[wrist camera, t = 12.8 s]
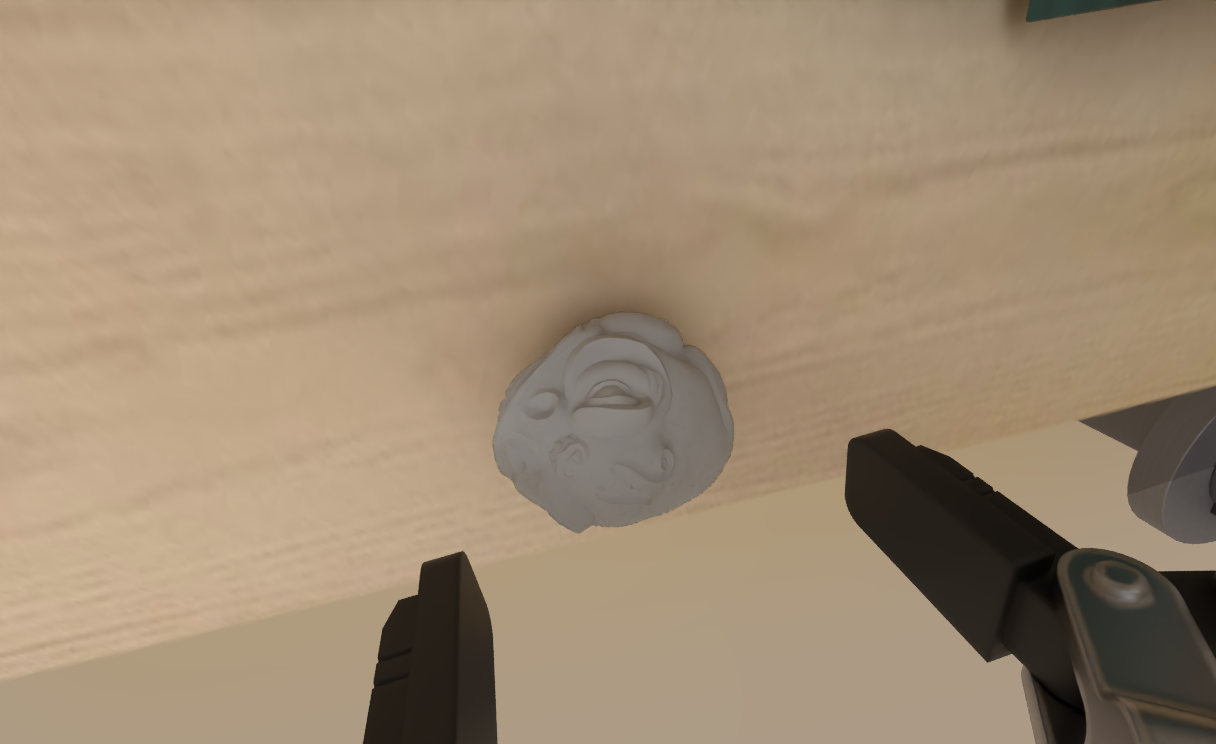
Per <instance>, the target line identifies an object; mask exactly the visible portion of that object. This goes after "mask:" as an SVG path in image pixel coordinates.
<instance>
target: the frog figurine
mask: <svg viewBox="0 0 1216 744" xmlns="http://www.w3.org/2000/svg"><path fill="white" fill-rule="evenodd" d="M733 440H734V423H733V419H732V416H731V413H730V410H729V408H728V406H727V394H726V389H725V386H724V383H723V381H722V378H721V375H720V373H719V372H718V370H717V369H716V367H715V366H714V364H713V363H712V362H711V361H710V360H709V358H708V357H707V356H706V355H705V354H704V353H703V352H702V351H701V350H700V349H699V348H697V347H695V346H691V345H685V346H683V340H682V337H681V335H680V333H679V331H678V330H677V328H675V327H674V326H673V325H672V324H670V323H669V322H668V321H666V320H664V319H661V318H657V317H655V316H652V315H649V314H643V313H635V312H618V313H612V314H608V315H606V316H603V317H602V318H595V319H591V320H589V323H586V324H582V325H581V326H577V327H575V328H574V329H573V331H571V332H570V333H569V334H567V335H566V336H565V337H563V338H562V339H561V340H560V341H559V342H558V343H557V344H556V345H555V346H554V347H553V348H552V349H551V350H549V351H548V352H547V353H546V354H544V355H543V356H542V357H541V358H539V359H538V360H537V361H536V362H534V363H533V364H531V365H530V366H528V367H527V368H525V369H524V370H522V371H521V372H520V373H519V374H518V375H517V376H516V377H515V378H514V379H513V380H512V382H511V383H510V385H509V386H508V388H507V389H506V398H505V399H504V400H502V401H501V402H500V405H499V416H498V424H497V426H496V430H495V434H494V437H493V450H494V455H495V461H496V463H497V466H498V469H499V470H500V472H501V473H502V474H503V475H504V476H506V477H509V478H510V479H511V480H512V481H513V483H514V485H515V488H516V489H517V491H518V492H519V493H520V494H522V495H523V496H524V497H525V498H527V499H529V500H530V501H532V502H533V503H535V504H537V505H538V506H540V507H541V508H543V509H545V510H546V511H547V512H548V514H549V515H550V516H551V517H552V518H553V519H554V520H555V521H556V522H557V523H559V524H560V525H562V526H564V527H566V528H568V529H569V530H571V531H573V532H575V533H578V534H579V533H581V532H582V531H584V530H585V529H587V528H589V527H590V526H592V525H594V526H598V525H599V526H601V527H620V526H627V525H631V524H633V523H638V522H639V521H642V520H644V519H647V518H650V517H654V516H659V515H661V514H663V513H667V512H669V511H670V510H673V509H675V508H677V507H679V506H681V505H683V504H684V503H686V502H687V501H690V500H691V499H692V498H695V497H696V496H698V495H699V494H701V493H703V492H704V491H705V490H706V489H707V488H708V487H710V486H711V484H712V483H714V481H715V480H716V478H717V477H718V476H719V474H720V473H721V472H722V470H723V467H724V466H725V463H726V462H727V461H728V459H729V458H730V455H731V451H732V447H733Z"/></svg>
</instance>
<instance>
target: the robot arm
mask: <svg viewBox="0 0 1216 744" xmlns="http://www.w3.org/2000/svg"><path fill="white" fill-rule="evenodd" d="M1210 496H1211V498H1212V500H1213V501H1214V504H1213V506H1212V509H1211V511H1210V513H1211V514H1213V515H1215V516H1216V468H1215V470H1214V473H1213V475H1212V478H1211V482H1210ZM845 500H846V504H847V507H848V510H849V512H850V514H851V516H852V517H853V519H854V521H855V522H856V523H857V524H858V526H859V527H860V528H861V529H862V530H863V531H864V532H865V533H866V534H867V535H868V536H869V537H870V538H871V539H872V540H873V541H874V543H875V544H876V545H877V546H878V547H879V548H880V549H881V550H882V551H883V552H884V553H885V554H886V555H887V556H888V557H889V558H890V560H891V561H892V562H893V563H894V564H895V565H896V566H897V567H898V568H899V569H900V570H901V571H902V572H903V573H904V574H905V576H906V577H907V578H908V579H909V580H910V581H911V582H912V583H913V584H914V585H915V586H916V587H917V588H918V589H919V590H920V591H921V592H922V593H923V595H924V596H925V597H926V598H927V599H928V600H929V601H930V602H931V603H932V604H933V605H934V606H935V607H936V608H937V610H938V611H939V612H940V613H941V614H942V615H943V616H944V617H945V618H946V619H947V620H948V621H949V622H950V623H951V624H952V625H953V627H955V629H956V630H957V631H958V632H959V633H960V634H961V635H962V636H963V637H964V638H965V639H966V640H967V641H968V642H969V643H970V645H972V647H973V648H974V649H975V650H976V651H977V652H978V653H979V654H980V655H981V656H982V657H983V658H984V659H985V660H986V662H991V661H993V660H996V659H999V658H1001V657H1004V656H1007V655H1010V654H1013V655H1014V656H1015V657H1016V658H1017V659H1018V660H1019V661H1020V662H1021V663H1022V664H1023V667H1022V672H1021V677H1022V683H1023V687H1024V692H1025V697H1026V701H1027V706H1028V710H1029V715H1030V719H1031V724H1032V729H1033V733H1034V738H1035V742H1036V744H1216V571H1163V572H1162V571H1161V572H1160V571H1159V572H1158V571H1156V570H1154V569H1153V568H1151V567H1150V566H1148V565H1146V564H1144V563H1143V562H1140V561H1138V560H1136V559H1134V558H1131V557H1129V556H1126V555H1123V554H1120V553H1117V552H1113V551H1109V550H1104V549H1096V548H1081V549H1078V548H1077V547H1075V546H1074V545H1072V544H1071V543H1069V542H1068V541H1066V540H1065V539H1064V538H1062V537H1061V536H1059V535H1058V534H1057V533H1055V532H1054V531H1053V530H1051V529H1050V528H1048V527H1047V526H1046V525H1044V524H1043V523H1042V522H1040V521H1039V520H1037V519H1036V518H1035V517H1033V516H1032V515H1030V514H1029V513H1028V512H1026V511H1025V510H1023V509H1022V508H1021V507H1019V506H1018V505H1016V504H1015V503H1014V502H1012V501H1011V500H1009V499H1008V498H1007V497H1005V496H1004V495H1002V494H1001V493H1000V492H998V491H996V492H995V491H994V490H993V488H992V487H991V486H990V485H988V484H987V483H986V482H984V481H983V480H981V479H980V478H979V477H976V478H975V477H974V475H973V473H972V472H970V471H969V470H968V469H966V468H965V467H963V466H962V465H961V464H959V463H958V462H956V461H955V460H954V459H952V458H951V457H949V456H947V455H944V454H942V453H939V452H937V451H934V450H932V449H929V448H927V447H924V446H922V445H920V446H916V447H915V446H914V445H913V444H911V443H910V442H909V441H907V440H906V439H905V438H903V437H902V436H901V435H899V434H898V433H897V432H895V431H893V430H891V429H883V430H879V431H876V432H872V433H869V434H866V435H862V436H859V437H855V438H853V439H851V440H850V442H849V444H848V452H847V468H846V484H845ZM363 744H497V722H496V699H495V676H494V651H493V633H492V626H491V620H490V615H489V611H488V608H487V604H486V602H485V600H484V597H483V594H482V592H481V590H480V587H479V585H478V582H477V580H476V577H475V575H474V572H473V570H472V567H471V565H470V562H469V560H468V558H467V555H466V554H465V552H463V551H461V552H458V553H454V554H451V555H447V556H444V557H441V558H437V559H434V560H430V561H427V562H424V563H423V564H422V567H421V572H420V581H419V590H418V595H415V596H411V597H408V598H405V599H401V600H399V601H398V602H397V604H396V606H395V608H394V609H393V611H392V613H391V615H390V616H389V618H388V620H387V622H386V623H385V625H384V627H383V629H382V635H381V641H380V647H379V653H378V663H377V664H376V671H375V676H374V689H372V694H371V700H370V706H369V712H368V717H367V723H366V729H365V735H364V741H363Z"/></svg>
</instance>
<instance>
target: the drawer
mask: <svg viewBox="0 0 1216 744" xmlns="http://www.w3.org/2000/svg"><path fill="white" fill-rule="evenodd" d="M1153 1H1159V0H1029V5H1028V11H1027V17H1026V22H1034V21H1040V20H1046V19H1052V18H1058V17H1064V16H1070V15H1076V14H1082V13H1088V12H1094V11H1100V10H1106V9H1112V8H1118V7H1123V6H1129V5H1135V4H1141V3H1147V2H1153Z"/></svg>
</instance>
